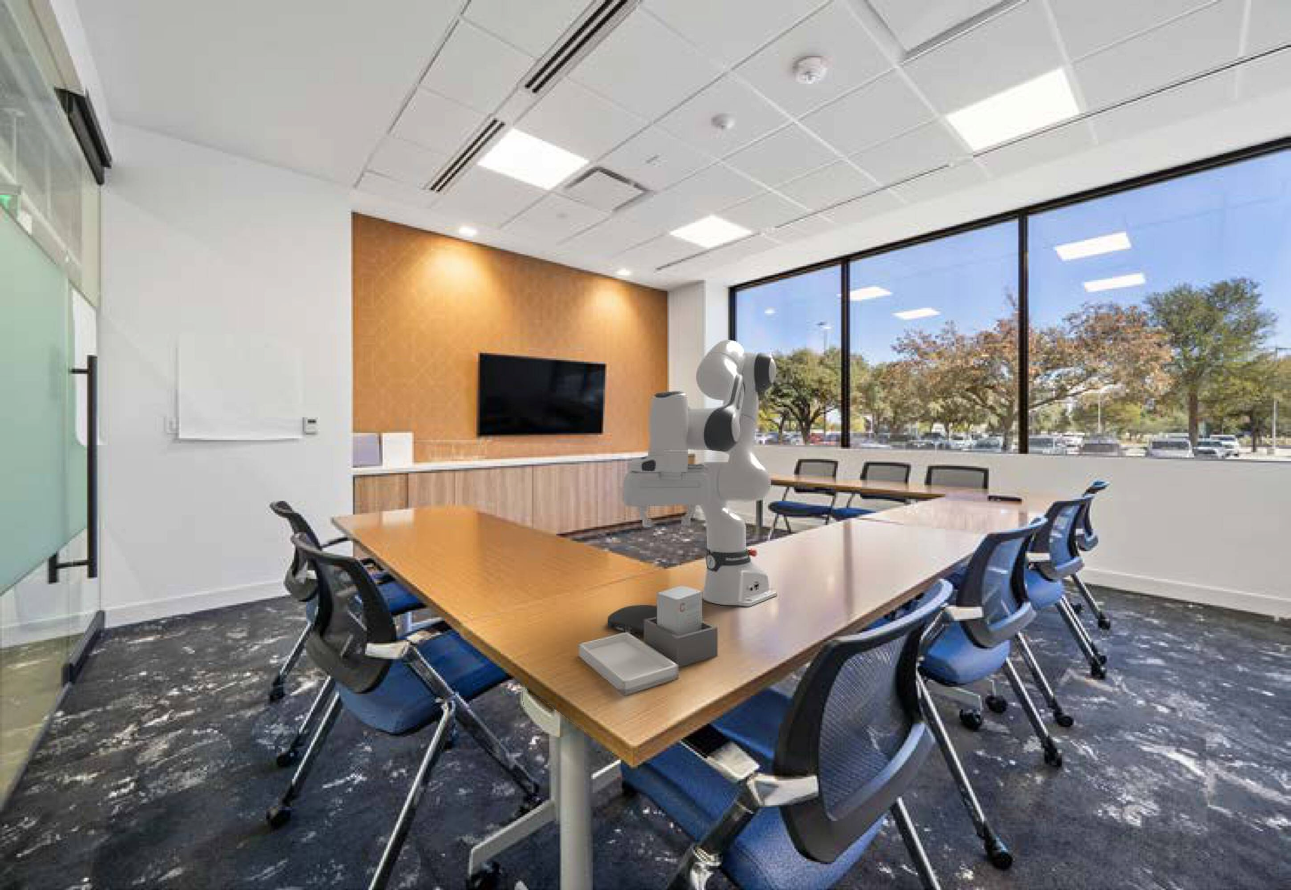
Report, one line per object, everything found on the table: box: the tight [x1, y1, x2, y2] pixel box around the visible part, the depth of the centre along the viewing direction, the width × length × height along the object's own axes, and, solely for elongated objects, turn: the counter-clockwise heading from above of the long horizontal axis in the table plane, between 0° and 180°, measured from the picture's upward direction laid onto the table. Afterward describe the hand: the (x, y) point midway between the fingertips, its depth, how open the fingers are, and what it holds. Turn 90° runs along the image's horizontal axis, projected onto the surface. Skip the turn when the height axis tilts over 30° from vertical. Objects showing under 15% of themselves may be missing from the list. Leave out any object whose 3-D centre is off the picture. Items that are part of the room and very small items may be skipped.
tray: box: [578, 632, 680, 696], centre depth 104 cm, size 12×20×2 cm, turn 32°
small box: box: [656, 585, 703, 636], centre depth 111 cm, size 8×6×13 cm
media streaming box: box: [607, 604, 657, 639], centre depth 127 cm, size 15×15×3 cm
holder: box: [643, 617, 719, 668], centre depth 111 cm, size 11×13×6 cm
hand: (666, 526), depth 113 cm, fingers open, 8 cm apart
